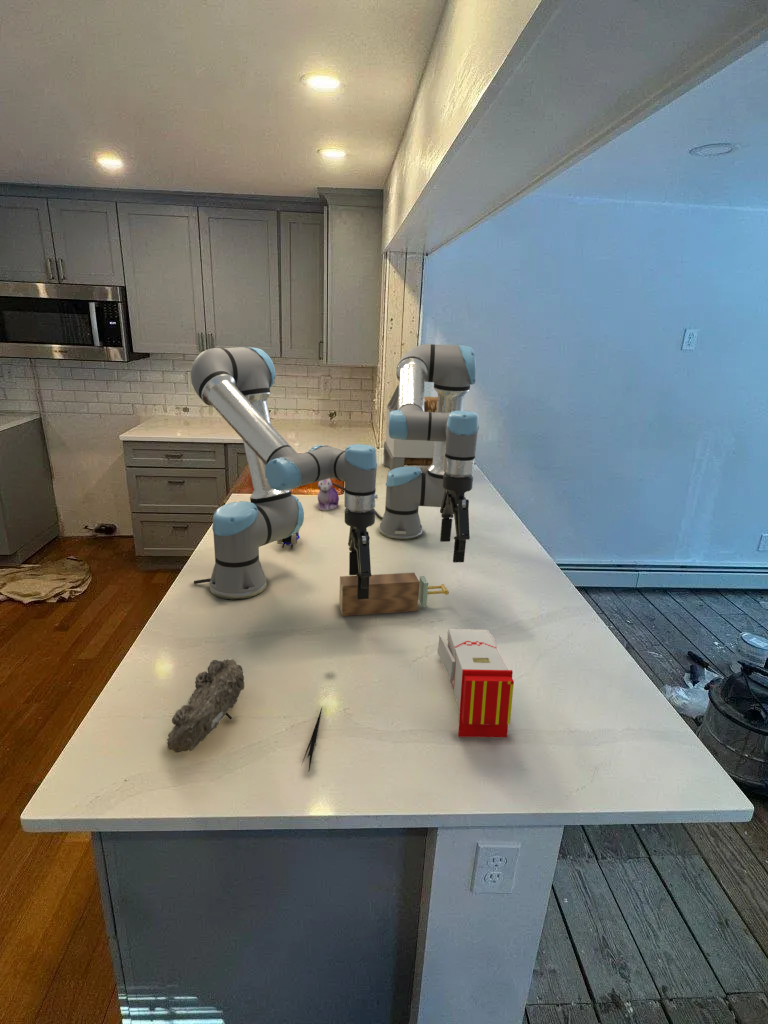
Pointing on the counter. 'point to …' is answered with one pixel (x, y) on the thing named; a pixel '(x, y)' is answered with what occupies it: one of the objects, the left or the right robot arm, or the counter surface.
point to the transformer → (408, 441)
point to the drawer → (424, 591)
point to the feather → (313, 740)
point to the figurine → (327, 495)
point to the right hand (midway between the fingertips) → (451, 551)
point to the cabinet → (380, 594)
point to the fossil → (206, 705)
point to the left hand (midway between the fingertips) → (358, 586)
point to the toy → (478, 682)
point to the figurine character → (289, 540)
